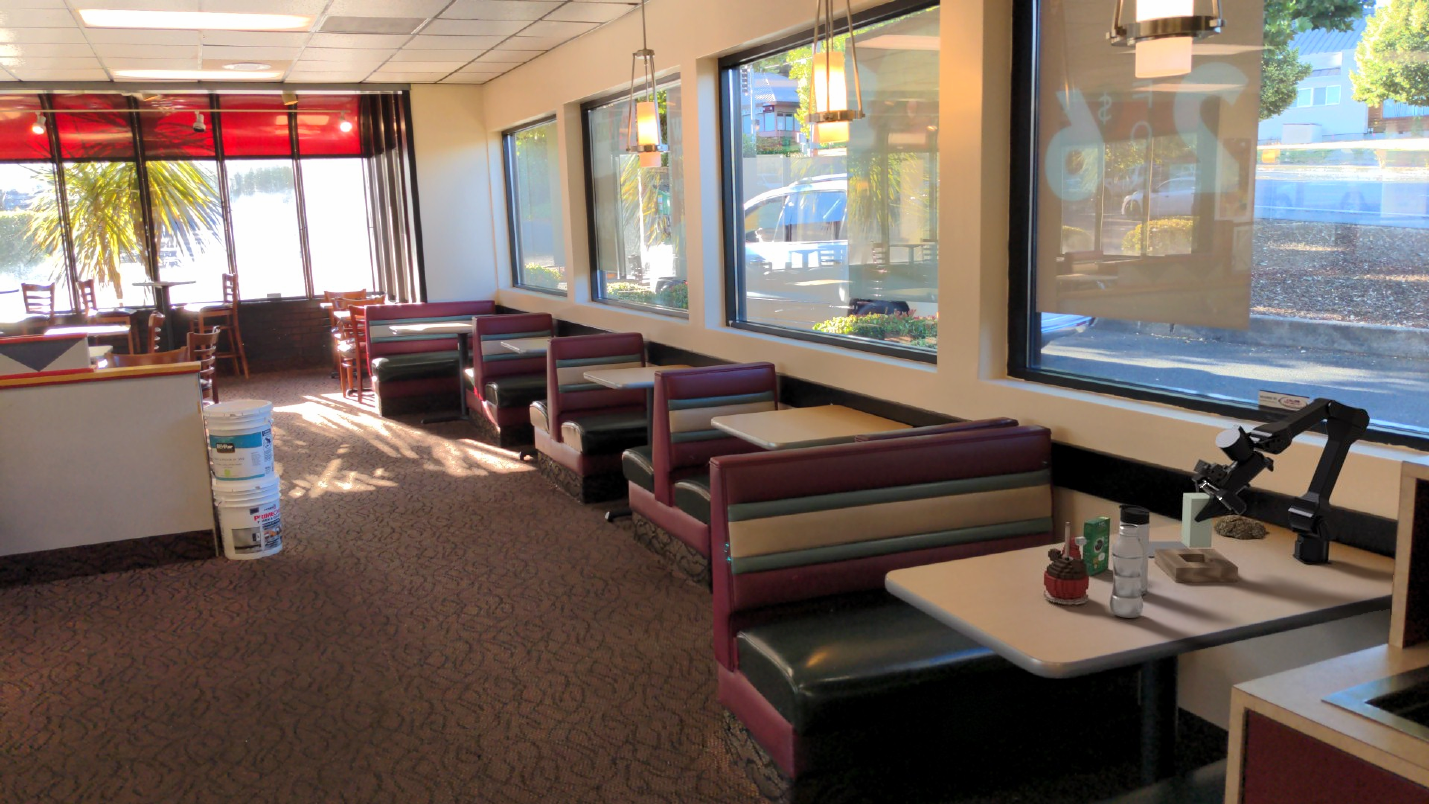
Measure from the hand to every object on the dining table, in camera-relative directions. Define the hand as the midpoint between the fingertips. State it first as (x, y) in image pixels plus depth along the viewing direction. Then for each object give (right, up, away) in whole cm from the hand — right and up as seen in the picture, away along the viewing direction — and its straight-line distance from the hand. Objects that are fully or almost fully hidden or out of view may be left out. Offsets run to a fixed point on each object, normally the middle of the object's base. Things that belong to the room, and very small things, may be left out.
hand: (1191, 517), depth 245 cm
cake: (-34, -17, -13) cm, 41 cm away
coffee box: (-21, -14, +5) cm, 26 cm away
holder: (+2, -13, +2) cm, 13 cm away
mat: (+2, -10, +19) cm, 22 cm away
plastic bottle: (-25, -19, -24) cm, 39 cm away
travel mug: (-18, -16, -9) cm, 26 cm away
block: (+2, -6, +1) cm, 7 cm away
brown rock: (+27, -8, +32) cm, 43 cm away
